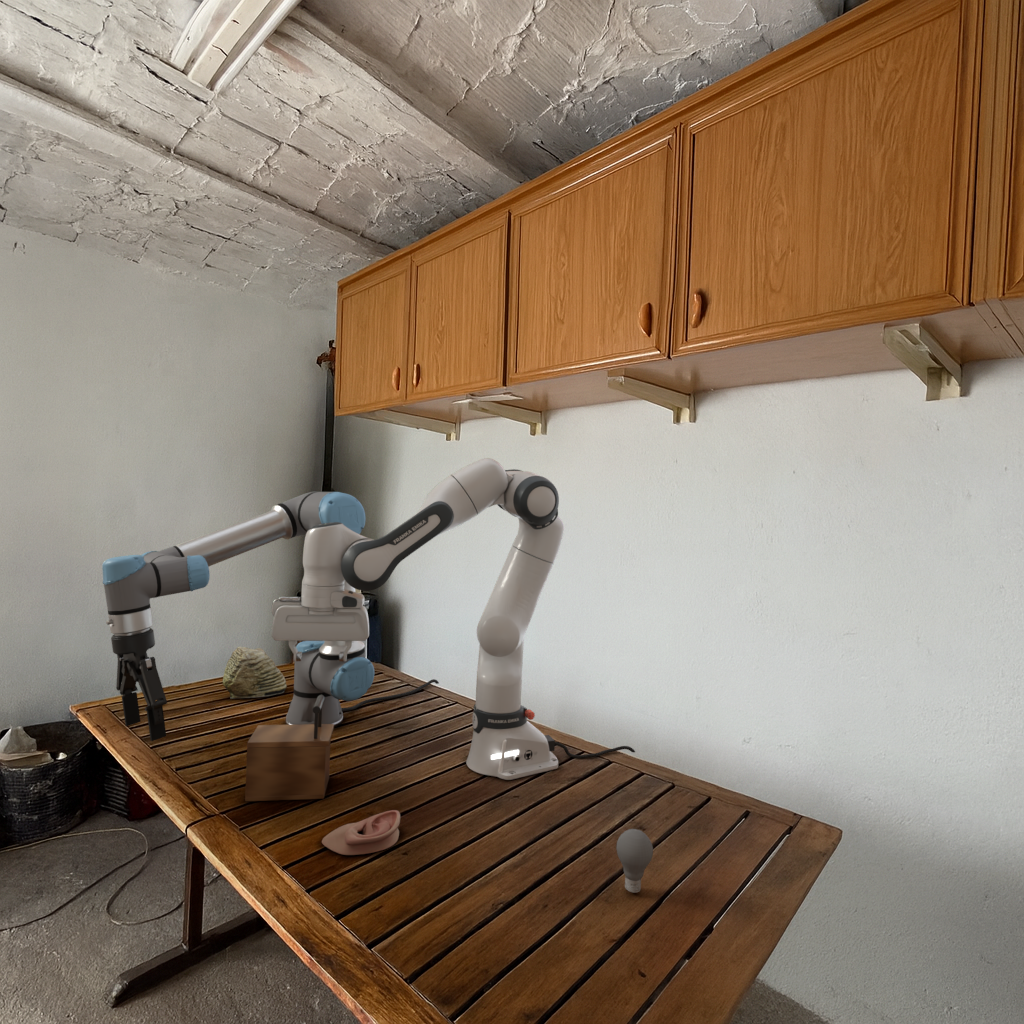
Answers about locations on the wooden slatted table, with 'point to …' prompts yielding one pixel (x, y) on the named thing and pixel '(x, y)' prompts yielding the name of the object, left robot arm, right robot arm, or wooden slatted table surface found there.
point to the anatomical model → (365, 835)
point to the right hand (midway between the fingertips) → (320, 660)
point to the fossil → (252, 674)
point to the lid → (294, 732)
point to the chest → (287, 773)
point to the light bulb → (634, 857)
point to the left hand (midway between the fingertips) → (145, 730)
